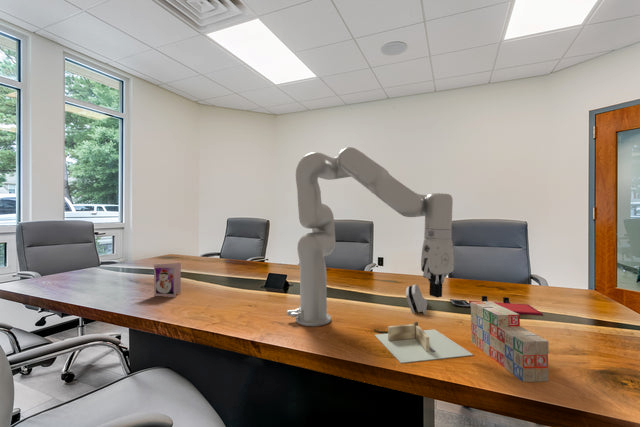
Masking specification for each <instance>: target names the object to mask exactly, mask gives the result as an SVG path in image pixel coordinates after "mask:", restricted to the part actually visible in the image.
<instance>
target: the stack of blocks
mask: <svg viewBox="0 0 640 427" xmlns="http://www.w3.org/2000/svg"><path fill="white" fill-rule="evenodd" d="M493 302H494V301H490V300H488V301H485V302H471V307H470V322H471V325H470V326H471V327H470V328H471V333H470V334H471V343H472V344H474V345H475V347H477V348H478V349H479V350H480V351H482V352H484V353H485V354H486V355H487V356H488V357H490V358H491V359H493V360H494V361H495V362H496V363H498V364H499V365H501V366H502V367H503V368H504V369H505V370H507V372H509V373H510V374H512V375H513V376H514V377H516V378H517V379H518V380H520V381H521V382H525V383H527V382H528V383H529V382H533V383H534V382H549V353H550V352H549V349H550V348H549V340H547V339H545V338H544V337H541V336H539V335H538V334H535V333H534V332H532V331H530V330H529V329H526V328H524V327H522V326H520V324H521V322H520V318H521V317H520V316H521V314H517V313H515V312H513V311H511V310H509V309H506V308H504V307H502V306H499V305H497V304H495V303H493Z"/></svg>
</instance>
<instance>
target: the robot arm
mask: <svg viewBox="0 0 640 427" xmlns="http://www.w3.org/2000/svg"><path fill="white" fill-rule="evenodd" d="M319 178H320V179H323V180H327V181H328V180H333V181H334V180H339V179H345V178H353V179H354V180H355V181H357V182H358V183H359V184H361V185H362V186H363V187H365V188H366V189H367V190H368V191H369V192H371V194H373V195H375V196H376V197H377V198H378V199H380V200H381V201H382V202H383V203H384V204H386V205H387V206H388V207H390V208H391V209H392V210H394V211H395V212H397V213H398V214H399V215H400V216H403V217H405V218H418V217H424V236H423V243H422V248H421V258H420V268H421V272H423V273H422V277H423V278H425V279H427V280H428V282H429V296H431V297H435V298H442V297H443V284H444V282H445V277H447V276H449V274H451V273H453V271H454V269H455V259H454V258H455V254H454V244H453V243H454V242H453V240H452V231H453V229H452V228H453V227H452V226H453V199H454V198H453V196H452V195H451V194H449V193H443V192H442V193H440V192H439V193H429V194H419V193H417V192H415V191H413V190H412V189H410V188H409V187H408V186H406V185H405V184H403V183H402V182H400V181H399V180H398V179H396V178H395V177H393V176H392V175H391V173H389V171H388V170H387V169H386V168H385V167H383V166H382V165H380V164H379V163H377V162H376V161H374V160H373V159H371V158H370V157H369V156H367V155H365V153H363V152H362V151H360V150H359V149H357V148H355V147H352V146H351V147H350V146H348V147H347V146H346V147H344V148H343V149H341V150H340V151H339V153H338V155H337V156H334V157H331V156H330V155H327V154H325V153H322V152H318V151H317V152H316V151H313V152H309V153H307V154H305V155H304V156H303V157H302V158H301V159H300V160H299V162H298V164H297V166H296V168H295V183H296V191H297V192H296V193H297V205H298V206H297V208H298V219H299V223H300V225H301V226H302V227H303V228H305V229H308V230H311V231H312V232H308V233H306V234H303V235H302V236H301V237H300V239H299V240H298V242H297V255H298V261H299V262H298V263H299V282H300V283H299V290H300V291H299V295H300V296H299V298H300V299H299V302H300V304H299V305H298V308H296V309H288V310H287V311H286V314H287V316H289V317H290V316H291V318H295V322H296V323H297V324H299V325H302V326H306V327H319V326H325V325H327V324H330V322H331V321H332V316H331V315H330V314H329V313H327V309H328V308H327V307H328V306H327V288H328V287H327V265H326V260H325V257H326V256H330V255H331V254H332V253H333V252H334V250H335V247H336V230H335V227H336V226H335V218H334V213H333V211H332V209H331V208H330V206H328V205H327V204H324V203H323V202H322V194H321V191H322V190H321V187H320V184H319V182H318V181H319Z"/></svg>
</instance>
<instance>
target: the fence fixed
mask: <svg viewBox="0 0 640 427" xmlns="http://www.w3.org/2000/svg"><path fill="white" fill-rule="evenodd" d="M416 326H419V322H418V321H414V322H413V323H412V324H399V325H389V326H388V325H387V334H388V340H389V341H394V340H404V339H415V338H416Z"/></svg>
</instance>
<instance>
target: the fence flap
mask: <svg viewBox="0 0 640 427" xmlns="http://www.w3.org/2000/svg"><path fill="white" fill-rule="evenodd" d="M416 339H417V340H418V341H419V342H420V344H421V345H422V346H423V347H424V348H425V350H426V351H430V346H429V336H428V335H427V334H426V333H425V332H424V331H423V329H422V327H421V326H419V325H418V326H416Z"/></svg>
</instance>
